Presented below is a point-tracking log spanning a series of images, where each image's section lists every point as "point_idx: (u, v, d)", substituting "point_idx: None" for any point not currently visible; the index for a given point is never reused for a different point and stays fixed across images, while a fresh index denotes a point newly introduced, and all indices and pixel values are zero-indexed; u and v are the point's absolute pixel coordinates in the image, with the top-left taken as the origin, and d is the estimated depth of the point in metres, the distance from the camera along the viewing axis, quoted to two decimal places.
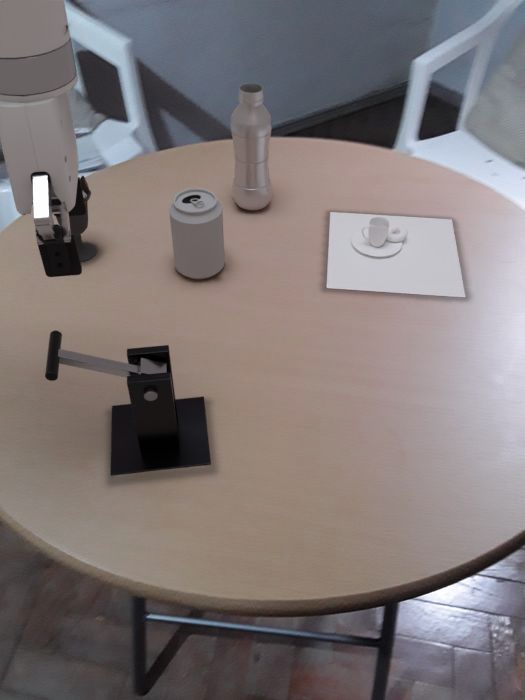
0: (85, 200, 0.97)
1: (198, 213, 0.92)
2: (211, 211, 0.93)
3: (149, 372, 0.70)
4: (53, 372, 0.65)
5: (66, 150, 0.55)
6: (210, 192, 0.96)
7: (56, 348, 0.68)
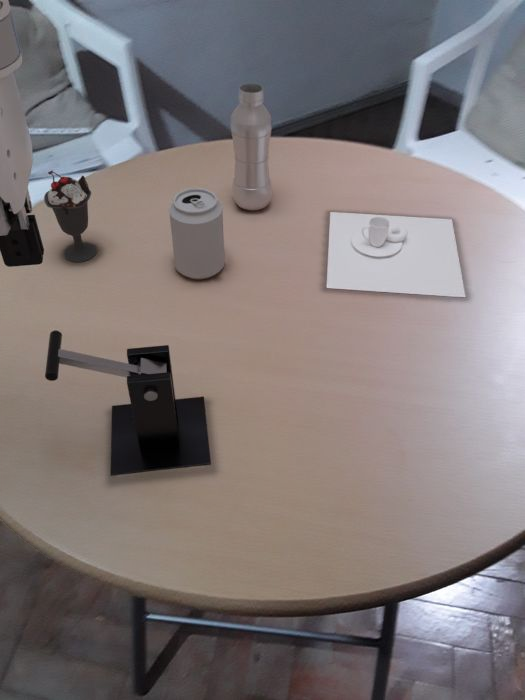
0: (85, 200, 0.97)
1: (198, 213, 0.92)
2: (211, 211, 0.93)
3: (149, 372, 0.70)
4: (53, 372, 0.65)
5: (9, 143, 0.48)
6: (210, 192, 0.96)
7: (56, 348, 0.68)
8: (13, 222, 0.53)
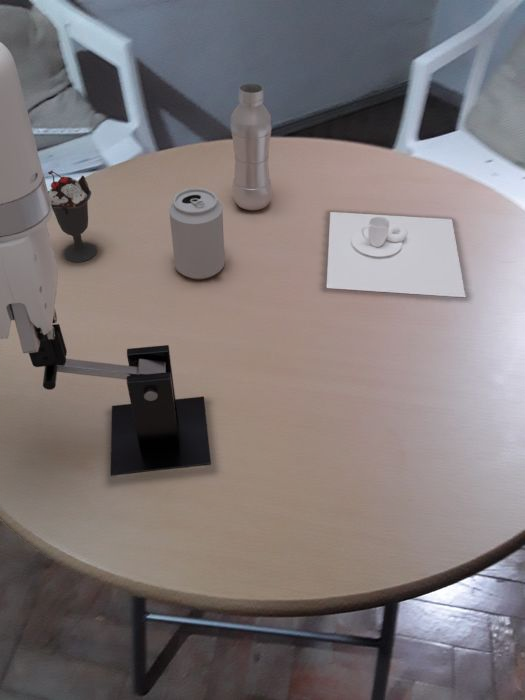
0: (85, 200, 0.97)
1: (198, 213, 0.92)
2: (211, 211, 0.93)
3: (147, 372, 0.70)
4: (50, 381, 0.66)
5: (41, 280, 0.57)
6: (210, 192, 0.96)
7: None
8: (42, 338, 0.62)
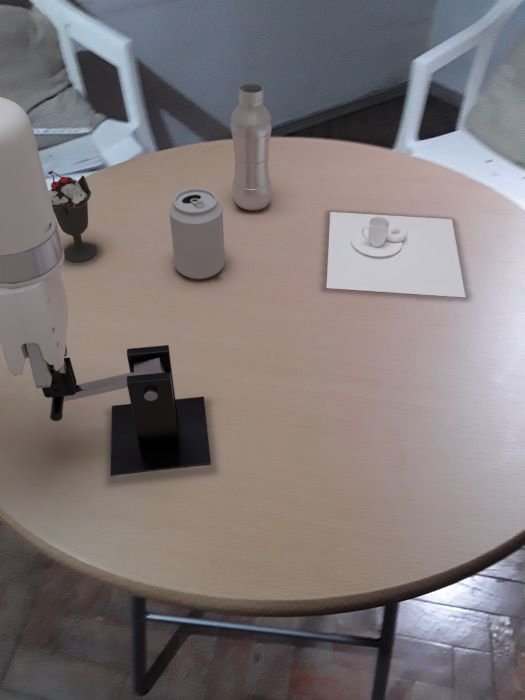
0: (85, 200, 0.97)
1: (198, 213, 0.92)
2: (211, 211, 0.93)
3: (142, 374, 0.70)
4: (54, 413, 0.69)
5: (54, 321, 0.60)
6: (210, 192, 0.96)
7: None
8: (54, 372, 0.65)
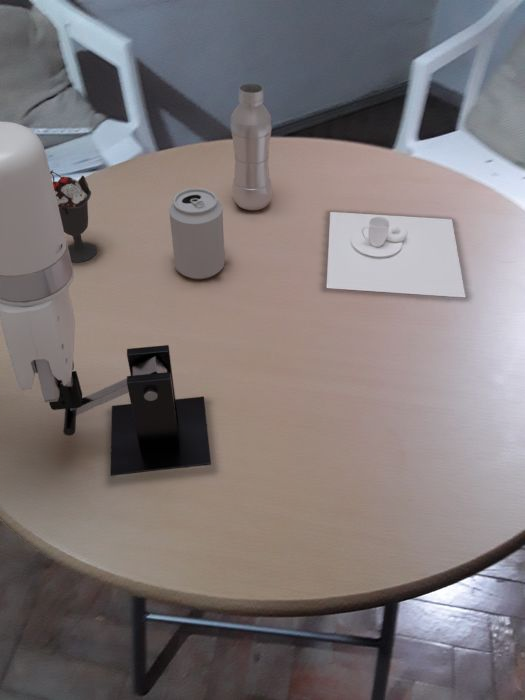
0: (85, 200, 0.97)
1: (198, 213, 0.92)
2: (211, 211, 0.93)
3: None
4: (66, 428, 0.71)
5: (63, 338, 0.62)
6: (210, 192, 0.96)
7: None
8: (62, 386, 0.66)
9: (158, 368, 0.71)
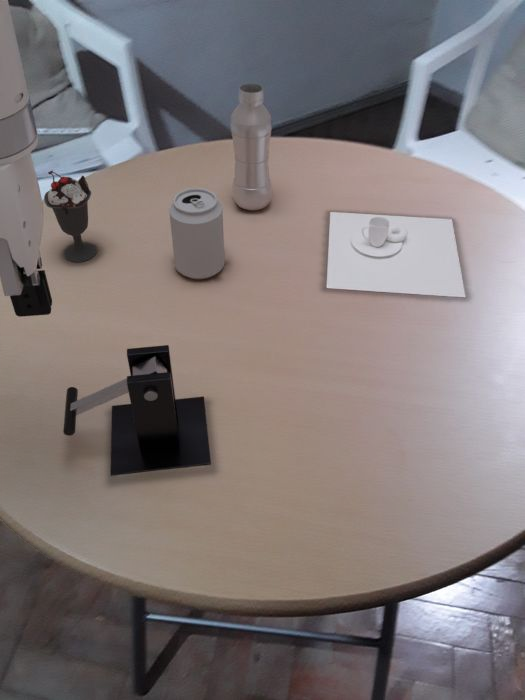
0: (85, 200, 0.97)
1: (198, 213, 0.92)
2: (211, 211, 0.93)
3: None
4: (66, 428, 0.71)
5: (25, 215, 0.53)
6: (210, 192, 0.96)
7: (68, 404, 0.73)
8: (26, 281, 0.57)
9: (158, 368, 0.71)
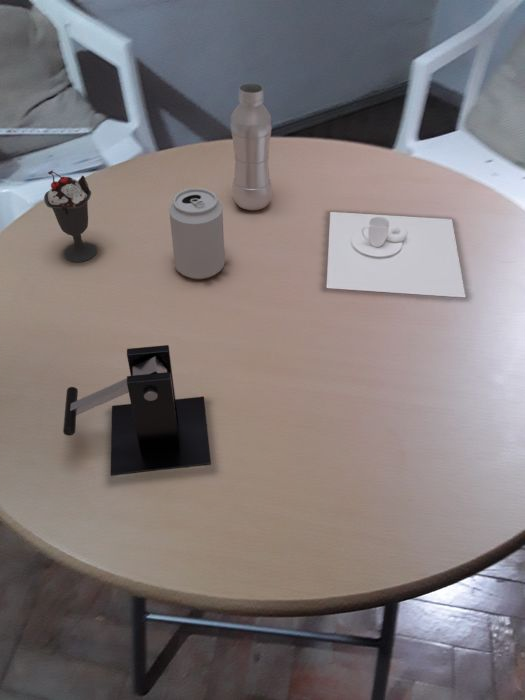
0: (85, 200, 0.97)
1: (198, 213, 0.92)
2: (211, 211, 0.93)
3: None
4: (66, 428, 0.71)
5: None
6: (210, 192, 0.96)
7: (68, 404, 0.73)
8: None
9: (158, 368, 0.71)
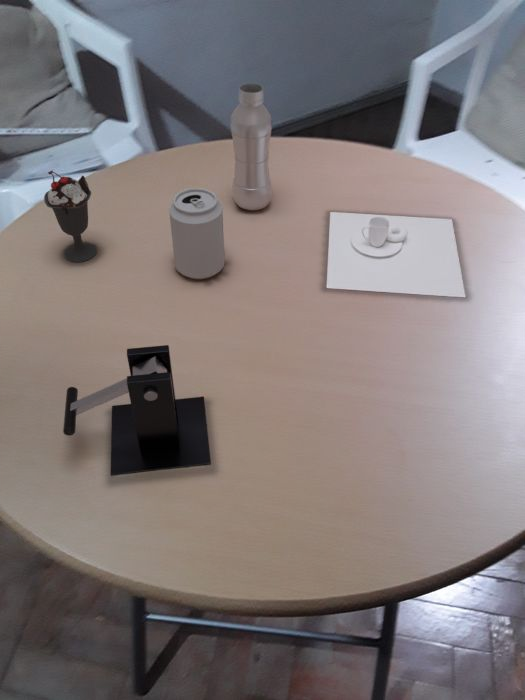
0: (85, 200, 0.97)
1: (198, 213, 0.92)
2: (211, 211, 0.93)
3: None
4: (66, 428, 0.71)
5: None
6: (210, 192, 0.96)
7: (68, 404, 0.73)
8: None
9: (158, 368, 0.71)
